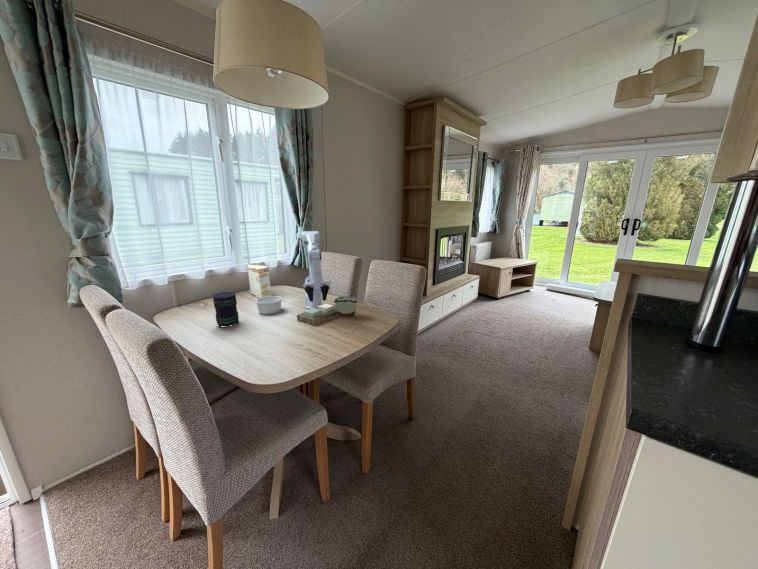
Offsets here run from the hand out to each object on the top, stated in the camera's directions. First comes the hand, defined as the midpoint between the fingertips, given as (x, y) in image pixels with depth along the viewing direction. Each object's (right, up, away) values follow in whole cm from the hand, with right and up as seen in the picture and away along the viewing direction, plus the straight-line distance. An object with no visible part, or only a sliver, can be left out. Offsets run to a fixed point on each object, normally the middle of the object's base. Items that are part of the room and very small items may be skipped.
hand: (317, 301), depth 146 cm
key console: (0, -9, +6) cm, 11 cm away
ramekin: (-30, -7, +16) cm, 34 cm away
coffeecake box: (-47, +1, +45) cm, 65 cm away
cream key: (+2, -6, +9) cm, 11 cm away
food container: (+14, -9, +9) cm, 18 cm away
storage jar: (-44, -11, -2) cm, 45 cm away
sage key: (-3, -7, +2) cm, 8 cm away
